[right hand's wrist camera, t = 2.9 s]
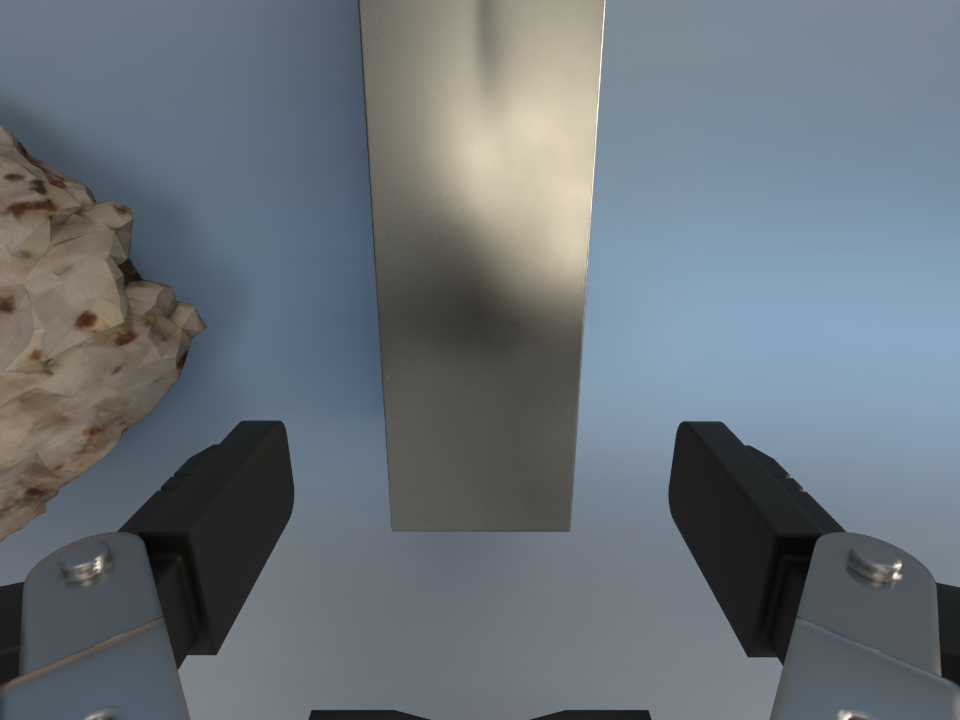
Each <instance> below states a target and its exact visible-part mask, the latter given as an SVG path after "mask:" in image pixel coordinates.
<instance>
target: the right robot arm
mask: <svg viewBox="0 0 960 720" xmlns="http://www.w3.org/2000/svg"><path fill="white" fill-rule="evenodd" d="M293 504H294V483H293V476H292V469H291V461H290V454H289V447H288V440H287V433H286V428H285V426H284V424H283V422H282V421H241V422H240V423H239V424H238V425H237V426H236V427H235V428H234V429H233V430H232V431H231V432H230V433H229V434H228V435H227V437H226V438H225V439H224V440H223V441H222V442H221V443H220V444H219V445H212V446H210V447H208V448H207V449H205V450H203V451H201V452H200V453H198V454H196V455H194V456H193V457H191V458H189V459H188V460H187V461H186V462H185V463H184V464H183V465H182V466H181V467H180V468H179V470H178V471H177V472H176V473H175V474H174V477H171V478H170V479H169V480H168V481H167V482H166V483H165V484H164V485H163V486H162V487H161V491H157V492H156V493H155V494H154V495H153V496H152V497H151V498H150V499H149V500H148V501H147V502H146V503H145V504H144V505H143V506H142V507H141V508H140V509H139V510H138V511H137V512H136V513H135V514H134V515H133V516H132V517H131V518H130V519H129V520H128V521H127V522H126V523H125V524H124V525H123V526H122V527H121V528H120V529H119V530H118V531H117V532H110V533H103V534H98V535H94V536H90V537H87V538H83V539H81V540H78V541H75V542H73V543H71V544H68V545H66V546H64V547H62V548H60V549H58V550H57V551H55V552H53V553H52V554H50V555H49V556H47V557H46V558H44V559H43V560H42V561H40V562H39V563H38V564H37V565H36V566H35V567H34V568H33V569H32V570H31V571H30V573H29V574H28V575H27V577H26V579H25V582H21V583H16V584H11V585H6V586H1V587H0V720H190V716H189V712H188V709H187V705H186V701H185V697H184V693H183V689H182V686H181V682H180V678H179V674H178V669H179V668H180V666H181V664H182V663H183V661H184V659H185V658H186V656H187V655H217V653H218V651H219V649H220V647H221V645H222V644H223V642H224V640H225V638H226V636H227V634H228V632H229V631H230V629H231V627H232V625H233V623H234V621H235V619H236V618H237V616H238V614H239V612H240V610H241V608H242V606H243V605H244V603H245V601H246V599H247V597H248V595H249V593H250V592H251V590H252V588H253V586H254V584H255V582H256V580H257V578H258V577H259V575H260V573H261V571H262V569H263V567H264V565H265V564H266V562H267V560H268V558H269V556H270V554H271V552H272V551H273V549H274V547H275V545H276V543H277V541H278V539H279V538H280V536H281V534H282V532H283V530H284V528H285V526H286V525H287V523H288V521H289V519H290V516H291V513H292V510H293ZM669 506H670V511H671V515H672V518H673V520H674V522H675V524H676V526H677V528H678V529H679V531H680V533H681V535H682V537H683V539H684V540H685V542H686V544H687V546H688V548H689V550H690V551H691V553H692V555H693V557H694V559H695V561H696V562H697V564H698V566H699V568H700V570H701V572H702V573H703V575H704V577H705V579H706V581H707V583H708V585H709V586H710V588H711V590H712V592H713V594H714V596H715V597H716V599H717V601H718V603H719V605H720V607H721V608H722V610H723V612H724V614H725V616H726V618H727V619H728V621H729V623H730V625H731V627H732V629H733V630H734V632H735V634H736V636H737V638H738V640H739V641H740V643H741V645H742V647H743V649H744V651H745V653H746V654H747V656H748V657H778V658H779V660H780V662H781V663H782V665H783V670H782V674H781V678H780V682H779V686H778V689H777V693H776V697H775V701H774V705H773V709H772V712H771V716H770V720H960V587H955V586H950V585H945V584H940V583H936V582H935V579H934V577H933V575H932V574H931V573H930V571H929V570H928V569H927V568H926V567H925V566H924V565H923V564H922V563H921V562H920V561H918V560H917V559H916V558H914V557H913V556H911V555H910V554H908V553H907V552H905V551H903V550H902V549H900V548H898V547H896V546H894V545H892V544H889V543H887V542H885V541H882V540H879V539H877V538H873V537H870V536H866V535H862V534H857V533H850V532H846V531H845V530H844V529H843V528H842V527H841V526H840V525H839V524H838V523H837V522H836V521H835V520H834V519H833V518H832V517H831V516H830V515H829V514H828V513H827V512H826V511H825V510H824V509H823V508H822V507H821V506H820V505H819V504H818V503H817V502H816V501H815V500H814V499H813V498H812V497H811V496H810V495H809V494H808V493H807V492H803V488H802V487H801V486H800V485H799V484H798V483H797V482H796V481H795V480H794V479H793V478H790V475H789V474H788V473H787V472H786V471H785V470H784V469H783V468H782V467H781V466H780V465H779V464H778V463H777V462H776V461H775V460H774V459H773V458H771V457H769V456H768V455H766V454H764V453H762V452H760V451H759V450H757V449H755V448H753V447H752V446H745V445H744V444H743V443H742V442H741V441H740V440H739V439H738V438H737V437H736V436H735V435H734V434H733V433H732V432H731V431H730V430H729V428H728V427H727V426H726V425H725V424H724V423H723V422H719V421H683V422H681V423H680V425H679V427H678V429H677V434H676V440H675V447H674V455H673V462H672V469H671V476H670V483H669ZM309 720H429V719H425V718H422V717H418V716H414V715H410V714H407V713H403V712H399V711H395V710H312V711H311V714H310V717H309ZM531 720H651V717H650V714H649V711H648V710H565V711H561V712H557V713H553V714H550V715H546V716H542V717H538V718H535V719H531Z"/></svg>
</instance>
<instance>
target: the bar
mask: <svg viewBox="0 0 960 720" xmlns="http://www.w3.org/2000/svg"><path fill="white" fill-rule="evenodd" d="M605 4H606V0H358V7H359V23H360V39H361V54H362V70H363V86H364V102H365V117H366V133H367V149H368V164H369V180H370V196H371V212H372V227H373V243H374V259H375V274H376V290H377V306H378V322H379V337H380V353H381V369H382V384H383V400H384V416H385V432H386V447H387V463H388V479H389V494H390V510H391V526H392V531H570V527H571V512H572V497H573V482H574V467H575V452H576V437H577V422H578V407H579V392H580V377H581V362H582V347H583V332H584V317H585V303H586V288H587V273H588V258H589V243H590V228H591V213H592V198H593V183H594V168H595V153H596V138H597V123H598V108H599V93H600V78H601V63H602V48H603V34H604V19H605Z"/></svg>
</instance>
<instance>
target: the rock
mask: <svg viewBox="0 0 960 720" xmlns="http://www.w3.org/2000/svg"><path fill="white" fill-rule="evenodd" d="M95 202H96V200H95V198H94V196H93V193H92V192H91V191H90V190H89V189H88V187H87V186H85V185H83V184H81V183H79V182H77V181H76V180H74V179H72V178H70V177H69V176H67V175H65V174H64V173H62V172H60V171H59V170H57V169H55V168H53V167H51V166H49V165H47V164H45V163H43V162H41V161H39V160H37V159H36V158H34V157H32V156H30V155H29V154H28V152H27V151H26V150H25V148H24V147H23V145H22V144H21V143H20V142H19V141H18V140H17V139H15V138H14V137H13V136H12V135H11V134H10V133H9V132H8V131H7V130H5V129H4V128H3V127H2V126H1V125H0V542H2V541H3V540H4V539H5V538H6V537H7V536H8V535H10V534H12V533H14V532H16V531H18V530H20V529H22V528H23V527H24V526H25V525H26V524H27V523H28V522H29V521H30V520H31V519H33V518H35V517H37V516H39V515H41V514H43V513H45V512H46V502H47V501H48V500H50V499H51V498H53V497H54V496H56V495H57V494H58V491H59V489H60V488H61V487H63V486H64V485H66V484H68V483H69V482H71V481H72V480H74V479H75V478H77V477H78V476H80V475H81V474H82V473H83V472H85V471H86V470H87V469H89V468H90V467H91V466H92V465H94V464H95V463H96V462H98V461H99V460H100V459H102V458H103V457H104V456H105V455H106V454H108V453H109V452H110V451H111V450H112V449H113V448H115V447H116V446H117V445H118V444H119V443H120V442H121V433H122V432H124V431H125V430H127V427H129V426H131V425H133V424H135V423H137V422H139V421H141V420H142V419H144V418H146V417H147V416H148V415H149V413H150V412H151V411H152V410H153V409H154V407H155V406H156V405H157V404H158V403H159V401H160V400H161V399H162V398H163V396H164V395H165V394H166V393H167V392H168V391H169V390H170V388H171V387H172V386H173V385H174V384H175V383H176V381H177V380H178V379H179V376H180V374H181V371H182V369H183V366H184V363H185V360H186V357H187V354H188V351H189V347H190V343H191V339H192V338H193V337H194V336H196V335H197V334H198V333H200V332H201V331H203V330H204V329H206V328H207V327H206V325H205V323H204V322H203V320H202V319H201V317H200V316H199V314H198V313H197V311H196V309H195V308H194V307H192V306H191V305H190V304H187V303H182V302H177V301H176V298H175V294H174V292H173V290H172V289H171V287H170V286H166V285H162V284H158V283H154V282H150V281H146V280H143V279H142V278H141V277H140V275H139V274H138V272H137V270H136V269H135V267H134V266H133V264H132V263H131V261H130V260H129V258H128V255H129V250H130V246H131V233H132V224H133V216H132V213H131V209H130V208H128V207H126V206H124V205H122V204H120V203H118V202H116V201H114V200H112V201H108V202H103V203H99V204H95Z"/></svg>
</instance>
